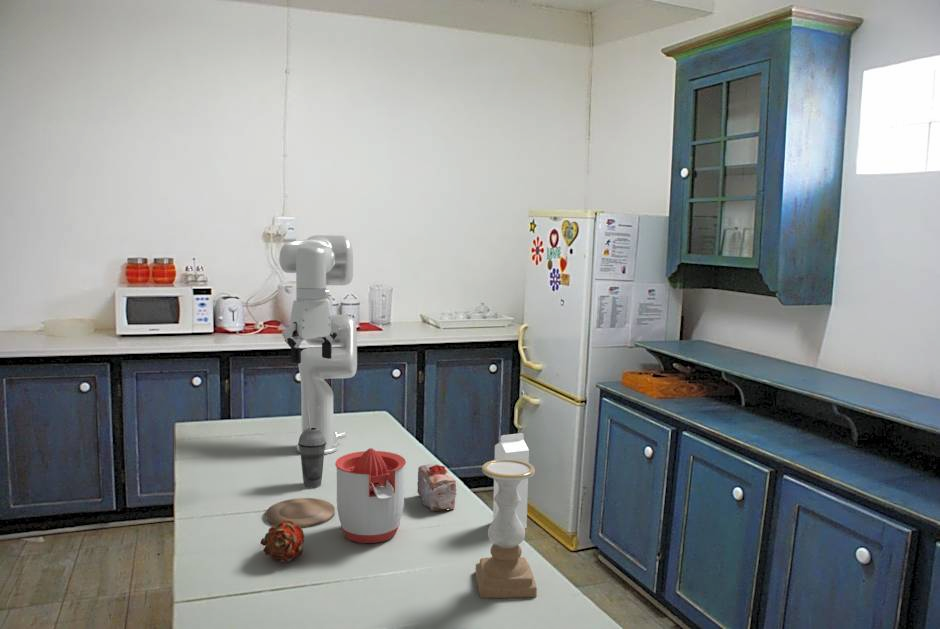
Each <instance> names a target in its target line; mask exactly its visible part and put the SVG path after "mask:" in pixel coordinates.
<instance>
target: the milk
mask: <svg viewBox="0 0 940 629" xmlns="http://www.w3.org/2000/svg"><path fill="white" fill-rule="evenodd" d="M524 436H525V435H524V433H522V432H520V433H513V434H503V435H501V436H500V438H499V439H500V441H499V442H498V443H496V444H495V445H494V460H498V459H514V460H520V461H524V462H527V463H529V464H530V462H529V460H530V450H529V447H528V446H527V443H526V442H525V440H524V439H525V438H524ZM528 487H529V478H527V479H524V480H521V482H520V483H519V484H518V486H517V493H518V495H519V496H520V498H521V501H520V503H518V506H517V507H516V514H517V516H518V518H519V520H520V521H521V523H522V525H523V527H524V529H527V526H528V525H527V524H528V499H529V498H528V495H529V494H528V492H529V491H528V489H529V488H528ZM498 491H499V486H498V483H497V482H496V480H495V479H493V505H492V507H493V508H492V510H493V511H492V521H493V520H494V518H495V517H496V515H497V513H498V511H499V508H498V505H497V502H495V500H494V497H495V496H496V495H497V493H498Z"/></svg>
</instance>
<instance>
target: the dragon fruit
mask: <svg viewBox="0 0 940 629" xmlns="http://www.w3.org/2000/svg"><path fill="white" fill-rule="evenodd" d="M304 542H305V533H304V530H303V528H301V527H299V526H296V525H295V524H294V523H293V522H292V521H290V520H283V521H282V522H281V523H279V524H274V525H273V524H272V526H271V527H270V528H268V532H266V533H265V536H264V537H263V538H261V539H260V545H262V546H263V547H264V548H263V554H264V555H265V556H269V557H271V558H272V559H274V560H277V561H278V562H279V563H288V562H290V561H291V560H293V558H297V557H298V556H299V557H300V556H301V555H302V554H303V551H304V547H303V545H304Z"/></svg>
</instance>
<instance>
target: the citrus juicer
mask: <svg viewBox="0 0 940 629" xmlns="http://www.w3.org/2000/svg"><path fill="white" fill-rule="evenodd" d="M406 463H407V462H406V458H404V457H403V456H402V455H400V454H397V453H395V452H394V453H393V452H389V451H384V450H382V451H380V450H376V449H374V448H372V447H370V448H368V449H367V450H364V451H356V452H350V453H348V454H344V455H342V456H340V457H338V458H336V461H335V464H334V465H335V466H336V467H335V468H336V509H337V515H338V519H339V522H340V527H341V530H342V532H343V535H344V536H345V537H346V538H347V539H348V540H350V541H353V542H356V543H358V544H374V543H380V542H384V541H388V540H390V539H392V538H393V537H395V535H396V534H397V532H398V529H399V527H400V524H401V519H402V515H403V511H404V507H405V468H406V467H405V465H406Z"/></svg>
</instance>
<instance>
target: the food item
mask: <svg viewBox="0 0 940 629" xmlns="http://www.w3.org/2000/svg"><path fill="white" fill-rule="evenodd" d="M448 472H449V471H448V470H447V469H446V466H444V465H440V464H437V463H436V464H435V463H427V464H424V465H423V464H422V465H420V466H419V467H418V470H417V491H416V492H417V494H418V495H419V496H420V497H421V498H422V504H423V503H424V504H425V505H424V504H423V505H424V506H426V507H427V508H430V511H433V510H434V512H437V511H436V510H446V511H453V510H452V509H454V510H455V505H456V498H457V497H456V496H457V484H456V483H457V482H456V480H455V479H454V478H453V477H452V476H451V475H450V474H449V473H448ZM447 509H449V510H447Z"/></svg>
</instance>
